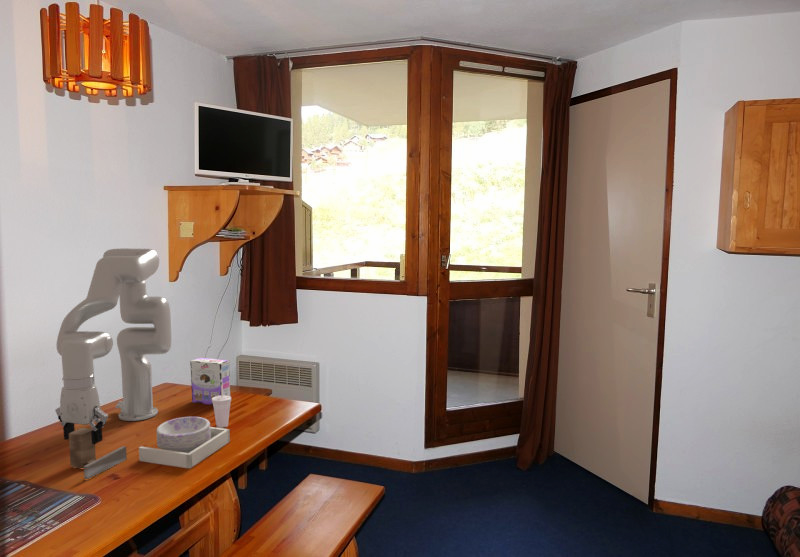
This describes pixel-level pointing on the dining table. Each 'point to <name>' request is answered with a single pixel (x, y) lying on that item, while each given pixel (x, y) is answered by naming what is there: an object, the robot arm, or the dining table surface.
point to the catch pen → (186, 459)
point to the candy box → (209, 379)
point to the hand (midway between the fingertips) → (83, 440)
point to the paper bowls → (183, 434)
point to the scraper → (91, 454)
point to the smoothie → (221, 409)
